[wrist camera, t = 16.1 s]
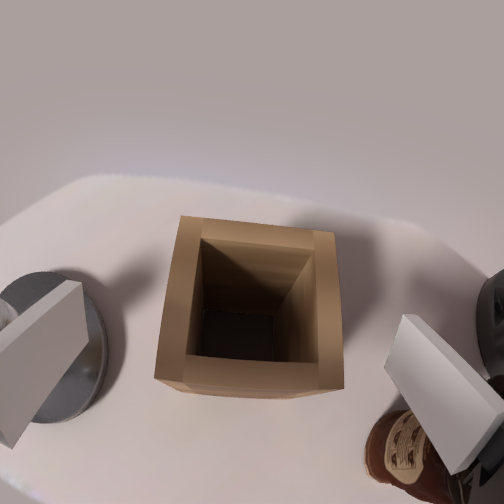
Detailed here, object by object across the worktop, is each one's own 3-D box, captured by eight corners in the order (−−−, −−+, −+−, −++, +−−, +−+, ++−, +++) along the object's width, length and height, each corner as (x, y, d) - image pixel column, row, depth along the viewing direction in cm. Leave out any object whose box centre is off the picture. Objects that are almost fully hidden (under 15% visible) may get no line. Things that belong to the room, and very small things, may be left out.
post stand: (128, 408, 18) (74, 405, 10) (5, 429, 14) (-70, 421, 6) (93, 263, 23) (50, 193, 15) (-12, 298, 19) (-71, 249, 11)
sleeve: (286, 399, 19) (344, 388, 11) (180, 391, 19) (154, 378, 10) (288, 303, 23) (334, 232, 14) (191, 294, 22) (180, 215, 14)
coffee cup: (325, 469, 17) (444, 509, 6) (381, 379, 21) (509, 332, 10) (401, 505, 15) (521, 530, 4) (446, 423, 19) (567, 399, 8)
